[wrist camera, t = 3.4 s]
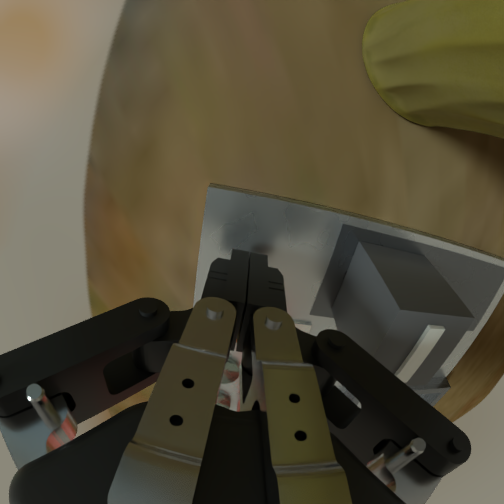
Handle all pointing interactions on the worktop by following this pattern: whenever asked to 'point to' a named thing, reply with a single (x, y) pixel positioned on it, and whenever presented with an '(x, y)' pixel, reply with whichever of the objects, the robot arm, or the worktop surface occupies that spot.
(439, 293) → the breaker
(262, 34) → the worktop surface
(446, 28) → the vase
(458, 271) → the panel
